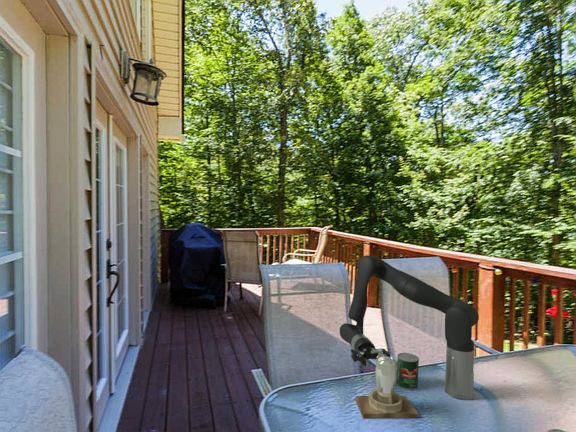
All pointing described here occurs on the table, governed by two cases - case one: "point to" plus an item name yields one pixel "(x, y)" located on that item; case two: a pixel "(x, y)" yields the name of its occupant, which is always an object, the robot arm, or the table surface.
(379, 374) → the beer glass
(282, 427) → the table surface
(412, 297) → the robot arm
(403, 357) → the canned tomato
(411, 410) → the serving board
